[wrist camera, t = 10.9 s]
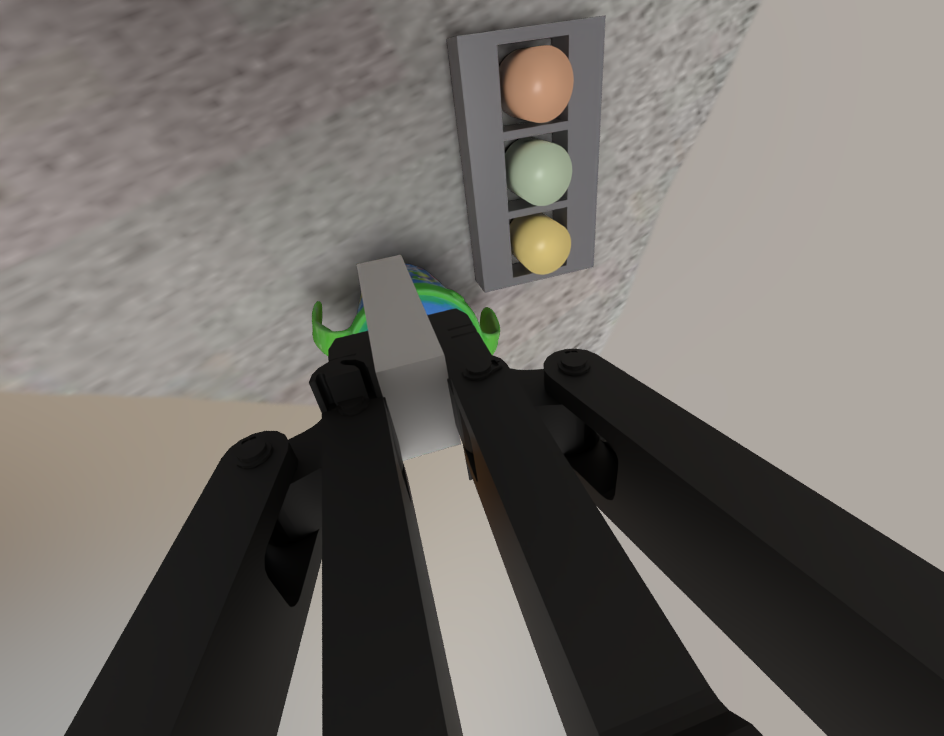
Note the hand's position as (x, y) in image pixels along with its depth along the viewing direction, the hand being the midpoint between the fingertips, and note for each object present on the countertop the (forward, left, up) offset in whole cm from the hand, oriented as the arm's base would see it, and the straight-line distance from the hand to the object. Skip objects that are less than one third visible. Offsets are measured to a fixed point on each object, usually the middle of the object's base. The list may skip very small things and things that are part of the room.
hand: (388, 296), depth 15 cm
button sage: (+2, +14, -24) cm, 28 cm away
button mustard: (+8, +15, -24) cm, 29 cm away
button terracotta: (-4, +15, -24) cm, 28 cm away
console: (+2, +15, -24) cm, 28 cm away
